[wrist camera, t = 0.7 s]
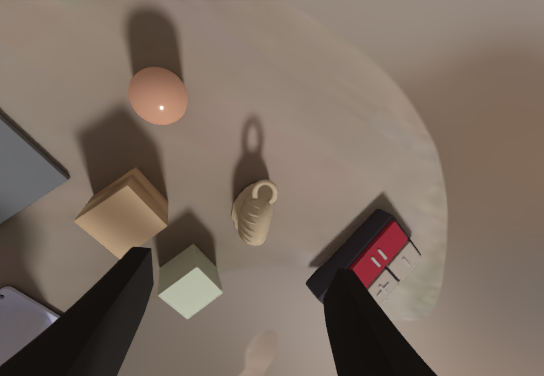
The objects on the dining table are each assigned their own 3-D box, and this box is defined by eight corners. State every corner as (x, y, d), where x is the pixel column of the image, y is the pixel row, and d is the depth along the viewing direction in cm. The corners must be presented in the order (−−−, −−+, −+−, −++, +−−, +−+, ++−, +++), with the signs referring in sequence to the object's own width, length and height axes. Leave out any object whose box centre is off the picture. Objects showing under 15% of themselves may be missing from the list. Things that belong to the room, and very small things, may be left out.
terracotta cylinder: (157, 128, 24) (154, 135, 20) (125, 87, 22) (114, 86, 18) (194, 103, 24) (198, 106, 20) (165, 62, 22) (164, 55, 18)
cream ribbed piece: (226, 234, 30) (236, 261, 25) (242, 164, 28) (257, 179, 23) (259, 236, 31) (274, 261, 27) (276, 170, 29) (297, 185, 25)
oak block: (129, 228, 26) (120, 259, 21) (93, 194, 24) (73, 221, 19) (168, 201, 26) (167, 226, 21) (136, 166, 24) (127, 185, 19)
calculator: (426, 257, 39) (360, 334, 38) (403, 244, 43) (342, 313, 42) (397, 216, 34) (320, 303, 33) (373, 204, 38) (303, 283, 37)
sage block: (185, 290, 30) (187, 319, 26) (159, 267, 28) (157, 295, 24) (216, 267, 31) (223, 292, 27) (193, 243, 29) (197, 266, 25)
